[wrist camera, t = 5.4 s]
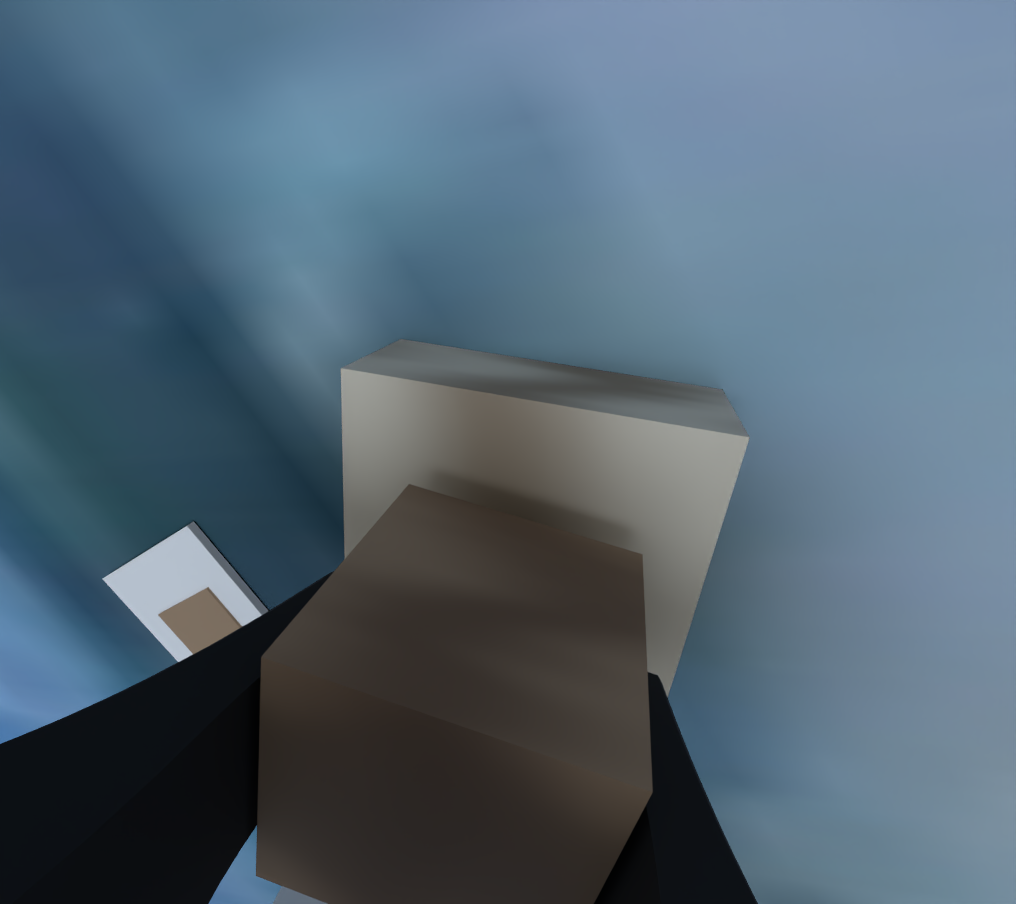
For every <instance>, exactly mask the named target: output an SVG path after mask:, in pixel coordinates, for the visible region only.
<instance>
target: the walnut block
mask: <svg viewBox="0 0 1016 904" xmlns="http://www.w3.org/2000/svg"><path fill="white" fill-rule="evenodd" d="M652 793H653V787H652V764H651V741H650V717H649V694H648V671H647V647H646V624H645V601H644V577H643V554H640V553H637V552H633V551H630V550H627V549H623V548H620V547H617V546H613V545H610V544H607V543H604V542H600V541H597V540H594V539H590V538H587V537H584V536H580V535H577V534H574V533H570V532H567V531H564V530H560V529H557V528H554V527H550V526H547V525H544V524H540V523H537V522H534V521H530V520H527V519H524V518H520V517H517V516H514V515H510V514H507V513H504V512H501V511H497V510H494V509H491V508H487V507H484V506H481V505H477V504H474V503H471V502H467V501H464V500H461V499H457V498H454V497H451V496H447V495H444V494H441V493H437V492H434V491H431V490H427V489H424V488H421V487H417V486H414V485H411V484H409V485H408V486H407V487H406V488H405V489H404V490H403V492H402V493H401V494H400V495H399V496H398V497H397V499H396V500H395V501H394V502H393V503H392V504H391V506H390V507H389V508H388V509H387V510H386V511H385V513H384V514H383V515H382V516H381V517H380V518H379V520H378V521H377V522H376V523H375V524H374V526H373V527H372V528H371V529H370V530H369V531H368V533H367V534H366V535H365V536H364V537H363V538H362V540H361V541H360V542H359V543H358V544H357V545H356V547H355V548H354V549H353V550H352V551H351V552H350V554H349V555H348V556H347V557H346V558H345V559H344V561H343V562H342V563H341V564H340V565H339V566H338V568H337V569H336V570H335V571H334V572H333V573H332V575H331V576H330V577H329V578H328V579H327V581H326V582H325V583H324V584H323V585H322V586H321V588H320V589H319V590H318V591H317V592H316V593H315V595H314V596H313V597H312V598H311V599H310V600H309V602H308V603H307V604H306V605H305V606H304V607H303V609H302V610H301V611H300V612H299V613H298V614H297V616H296V617H295V618H294V619H293V620H292V621H291V623H290V624H289V625H288V626H287V627H286V628H285V630H284V631H283V632H282V633H281V634H280V636H279V637H278V638H277V639H276V640H275V641H274V643H273V644H272V645H271V646H270V647H269V648H268V650H267V651H266V652H265V653H264V654H263V655H262V657H261V685H260V727H259V769H258V811H257V853H256V876H258V877H260V878H263V879H266V880H268V881H271V882H273V883H276V884H278V885H281V886H283V887H286V888H289V889H291V890H294V891H296V892H299V893H301V894H304V895H307V896H309V897H312V898H314V899H317V900H319V901H322V902H324V903H327V904H594V902H595V900H596V899H597V897H598V895H599V893H600V891H601V889H602V887H603V885H604V883H605V882H606V880H607V878H608V876H609V874H610V872H611V870H612V868H613V866H614V865H615V863H616V861H617V859H618V857H619V855H620V853H621V851H622V849H623V847H624V846H625V844H626V842H627V840H628V838H629V836H630V834H631V832H632V830H633V829H634V827H635V825H636V823H637V821H638V819H639V817H640V815H641V813H642V812H643V810H644V808H645V806H646V804H647V802H648V800H649V798H650V796H651V795H652Z"/></svg>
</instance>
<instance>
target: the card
mask: <svg viewBox="0 0 1016 904" xmlns="http://www.w3.org/2000/svg"><path fill="white" fill-rule="evenodd" d="M103 580H104V581H105V582H106V583H107V584H108V586H109V587H110V588H111V589H112V590H113V591H114V592H115V593H116V594H117V595H118V596H119V598H120V599H121V600H122V601H123V602H124V603H125V604H126V605H127V606H128V607H129V609H130V610H131V611H132V612H133V613H134V614H135V615H136V616H137V617H138V618H139V619H140V621H141V622H142V623H143V624H144V625H145V626H146V627H147V628H148V629H149V630H150V632H151V633H152V634H153V635H154V636H155V637H156V638H157V639H158V640H159V641H160V642H161V644H162V645H163V646H164V647H165V648H166V649H167V650H168V651H169V652H170V653H171V655H172V656H173V657H174V658H175V659H176V660H177V661H178V662H180V661H181V660H183V659H185V658H187V657H189V656H191V655H193V654H195V653H197V652H198V651H200V650H202V649H204V648H206V647H208V646H210V645H211V644H213V643H215V642H217V641H218V640H220V639H222V638H224V637H225V636H227V635H229V634H230V633H232V632H234V631H236V630H237V629H239V628H241V627H242V626H244V625H246V624H248V623H249V622H251V621H253V620H254V619H256V618H258V617H260V616H261V615H263V614H265V613H266V612H268V610H267V609H266V607H265V606H264V605H263V604H262V603H261V601H260V600H259V599H258V598H257V597H256V595H255V594H254V593H253V592H252V591H251V589H250V588H249V587H248V586H247V585H246V583H245V582H244V581H243V580H242V579H241V577H240V576H239V575H238V574H237V573H236V571H235V570H234V569H233V568H232V567H231V565H230V564H229V563H228V562H227V561H226V559H225V558H224V557H223V556H222V555H221V553H220V552H219V551H218V550H217V549H216V548H215V546H214V545H213V544H212V543H211V542H210V540H209V539H208V538H207V537H206V536H205V534H204V533H203V532H202V531H201V530H200V528H199V527H198V526H197V525H196V524H195V522H192V523H191V524H189V525H187V526H186V527H184V528H183V529H181V530H179V531H178V532H176V533H175V534H173V535H171V536H170V537H168V538H167V539H165V540H163V541H162V542H160V543H159V544H157V545H155V546H154V547H152V548H151V549H149V550H147V551H146V552H144V553H143V554H141V555H139V556H138V557H136V558H135V559H133V560H131V561H130V562H128V563H127V564H125V565H123V566H122V567H120V568H119V569H117V570H115V571H114V572H112V573H111V574H109V575H107V576H106V577H105V578H103Z"/></svg>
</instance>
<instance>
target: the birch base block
mask: <svg viewBox="0 0 1016 904" xmlns="http://www.w3.org/2000/svg"><path fill="white" fill-rule="evenodd" d="M341 401H342V450H343V498H344V547H345V558H346V557H347V556H348V555H349V554H350V552H351V551H352V550H353V549H354V548H355V547H356V545H357V544H358V543H359V542H360V541H361V540H362V538H363V537H364V536H365V535H366V534H367V533H368V531H369V530H370V529H371V528H372V527H373V526H374V524H375V523H376V522H377V521H378V520H379V518H380V517H381V516H382V515H383V514H384V513H385V511H386V510H387V509H388V508H389V507H390V506H391V504H392V503H393V502H394V501H395V500H396V499H397V497H398V496H399V495H400V494H401V493H402V492H403V490H404V489H405V488H406V487H407V486H408V485H409V484H411V485H414V486H417V487H421V488H424V489H427V490H431V491H434V492H437V493H441V494H444V495H447V496H451V497H454V498H457V499H461V500H464V501H467V502H471V503H474V504H477V505H481V506H484V507H487V508H491V509H494V510H497V511H501V512H504V513H507V514H510V515H514V516H517V517H520V518H524V519H527V520H530V521H534V522H537V523H540V524H544V525H547V526H550V527H554V528H557V529H560V530H564V531H567V532H570V533H574V534H577V535H580V536H584V537H587V538H590V539H594V540H597V541H600V542H604V543H607V544H610V545H613V546H617V547H620V548H623V549H627V550H630V551H633V552H637V553H640V554H643V577H644V601H645V624H646V647H647V671H648V672H650V673H653V674H656V675H658V676H659V678H660V680H661V682H662V684H663V687H664V690H665V692H666V695H667V698H668V695H669V691H670V688H671V685H672V682H673V679H674V676H675V672H676V669H677V666H678V663H679V660H680V657H681V653H682V650H683V647H684V644H685V641H686V638H687V634H688V631H689V628H690V625H691V622H692V619H693V615H694V612H695V609H696V606H697V603H698V600H699V596H700V593H701V590H702V587H703V584H704V581H705V577H706V574H707V571H708V568H709V565H710V562H711V558H712V555H713V552H714V549H715V546H716V543H717V539H718V536H719V533H720V530H721V527H722V524H723V520H724V517H725V514H726V511H727V508H728V505H729V501H730V498H731V495H732V492H733V489H734V486H735V482H736V479H737V476H738V473H739V470H740V467H741V464H742V460H743V457H744V454H745V451H746V448H747V445H748V441H749V438H750V437H749V435H748V434H747V432H746V430H745V428H744V427H743V425H742V423H741V421H740V420H739V418H738V416H737V414H736V413H735V411H734V409H733V407H732V406H731V404H730V402H729V400H728V399H727V397H726V395H725V393H724V392H723V390H722V389H716V388H709V387H703V386H697V385H690V384H684V383H677V382H671V381H665V380H658V379H652V378H646V377H639V376H633V375H627V374H620V373H614V372H607V371H601V370H595V369H588V368H582V367H576V366H569V365H563V364H557V363H550V362H544V361H537V360H531V359H525V358H518V357H512V356H506V355H499V354H493V353H487V352H480V351H474V350H467V349H461V348H455V347H448V346H442V345H436V344H429V343H423V342H416V341H410V340H404V339H400V340H398V341H396V342H394V343H392V344H390V345H388V346H386V347H384V348H382V349H379V350H377V351H375V352H373V353H371V354H369V355H367V356H365V357H363V358H361V359H359V360H357V361H355V362H352V363H350V364H348V365H346V366H344V367H342V368H341Z"/></svg>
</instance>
